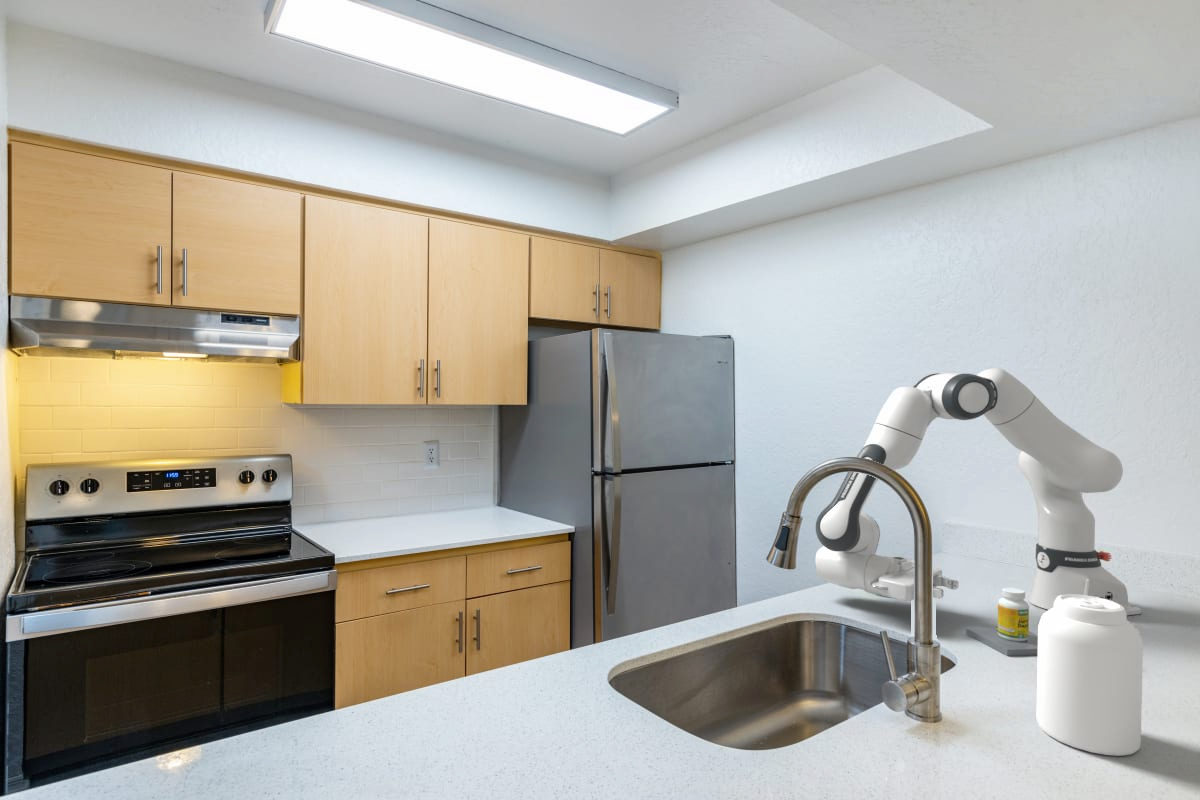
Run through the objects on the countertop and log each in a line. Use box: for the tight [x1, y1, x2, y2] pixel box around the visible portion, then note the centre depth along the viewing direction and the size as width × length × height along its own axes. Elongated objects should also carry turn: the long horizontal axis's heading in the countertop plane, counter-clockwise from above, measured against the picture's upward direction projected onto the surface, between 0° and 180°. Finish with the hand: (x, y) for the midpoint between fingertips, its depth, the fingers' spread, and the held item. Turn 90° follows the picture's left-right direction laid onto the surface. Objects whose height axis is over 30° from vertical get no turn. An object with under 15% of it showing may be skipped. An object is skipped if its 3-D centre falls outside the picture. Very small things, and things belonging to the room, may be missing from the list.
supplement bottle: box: [997, 587, 1030, 642], centre depth 136 cm, size 5×5×10 cm
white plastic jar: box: [1035, 594, 1144, 757], centre depth 99 cm, size 12×12×20 cm
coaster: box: [965, 626, 1038, 657], centre depth 136 cm, size 12×12×1 cm
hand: (950, 589), depth 144 cm, fingers open, 8 cm apart
